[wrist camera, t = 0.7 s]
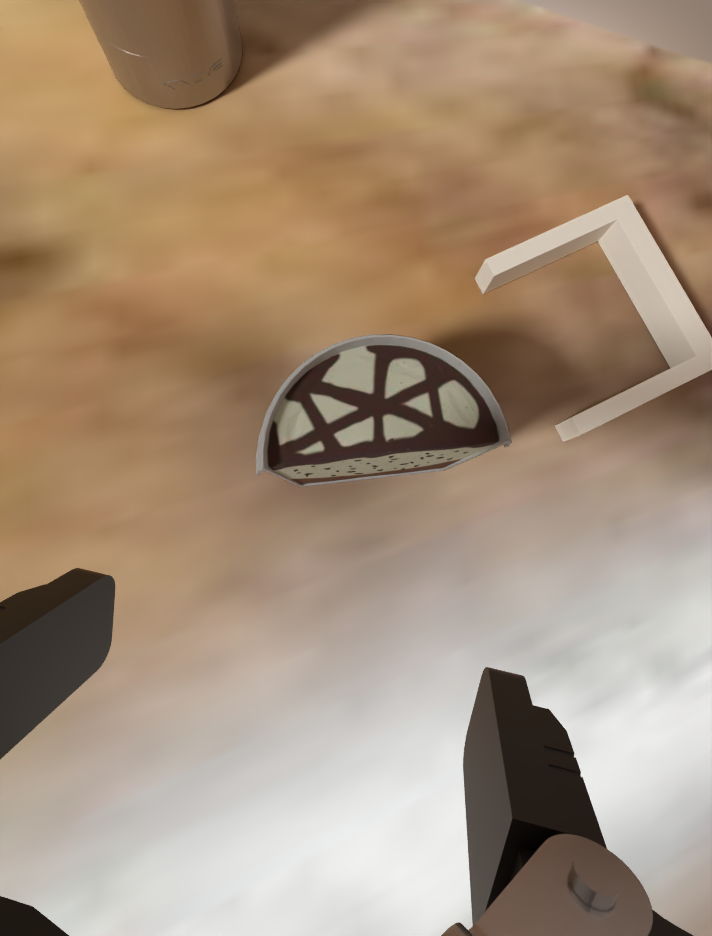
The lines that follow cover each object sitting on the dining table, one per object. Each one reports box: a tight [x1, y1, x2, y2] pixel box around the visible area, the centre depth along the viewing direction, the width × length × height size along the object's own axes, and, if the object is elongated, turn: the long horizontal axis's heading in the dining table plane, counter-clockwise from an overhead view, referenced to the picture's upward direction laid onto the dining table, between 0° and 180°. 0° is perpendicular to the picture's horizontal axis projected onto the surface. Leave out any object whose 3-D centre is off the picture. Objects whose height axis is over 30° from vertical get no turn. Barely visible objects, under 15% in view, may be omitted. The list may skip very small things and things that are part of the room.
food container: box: [256, 334, 512, 487], centre depth 29 cm, size 12×6×10 cm, turn 97°
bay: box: [475, 195, 712, 442], centre depth 34 cm, size 12×10×2 cm
